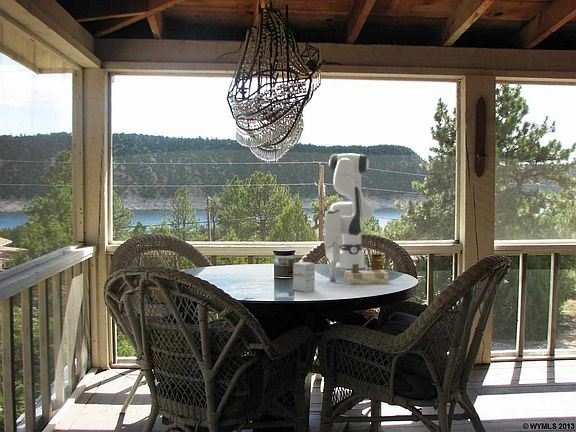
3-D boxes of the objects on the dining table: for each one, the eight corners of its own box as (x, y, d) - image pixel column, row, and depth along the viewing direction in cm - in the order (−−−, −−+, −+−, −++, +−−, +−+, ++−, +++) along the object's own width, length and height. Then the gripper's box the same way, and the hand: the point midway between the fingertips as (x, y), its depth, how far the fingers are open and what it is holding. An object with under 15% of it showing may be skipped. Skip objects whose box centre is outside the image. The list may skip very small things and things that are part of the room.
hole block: (344, 280, 277) (344, 271, 276) (383, 280, 279) (383, 270, 279) (348, 283, 268) (348, 273, 268) (388, 283, 270) (388, 273, 270)
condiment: (385, 276, 290) (386, 254, 289) (373, 278, 285) (374, 255, 284) (376, 275, 296) (376, 253, 295) (364, 276, 291) (364, 254, 290)
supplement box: (292, 290, 251) (292, 263, 251) (302, 288, 257) (302, 261, 256) (305, 292, 246) (305, 264, 246) (315, 289, 252) (315, 262, 252)
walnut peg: (351, 281, 274) (351, 263, 274) (357, 281, 274) (357, 263, 274) (353, 282, 271) (353, 264, 271) (359, 282, 271) (359, 264, 271)
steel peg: (329, 280, 278) (329, 257, 277) (335, 280, 278) (335, 257, 278) (330, 281, 275) (330, 257, 274) (336, 281, 275) (336, 257, 275)
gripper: (343, 243, 266) (343, 271, 266) (335, 239, 286) (335, 266, 287) (330, 243, 265) (330, 272, 266) (323, 239, 285) (323, 266, 286)
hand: (332, 269), depth 276 cm, fingers closed on steel peg, 3 cm apart
